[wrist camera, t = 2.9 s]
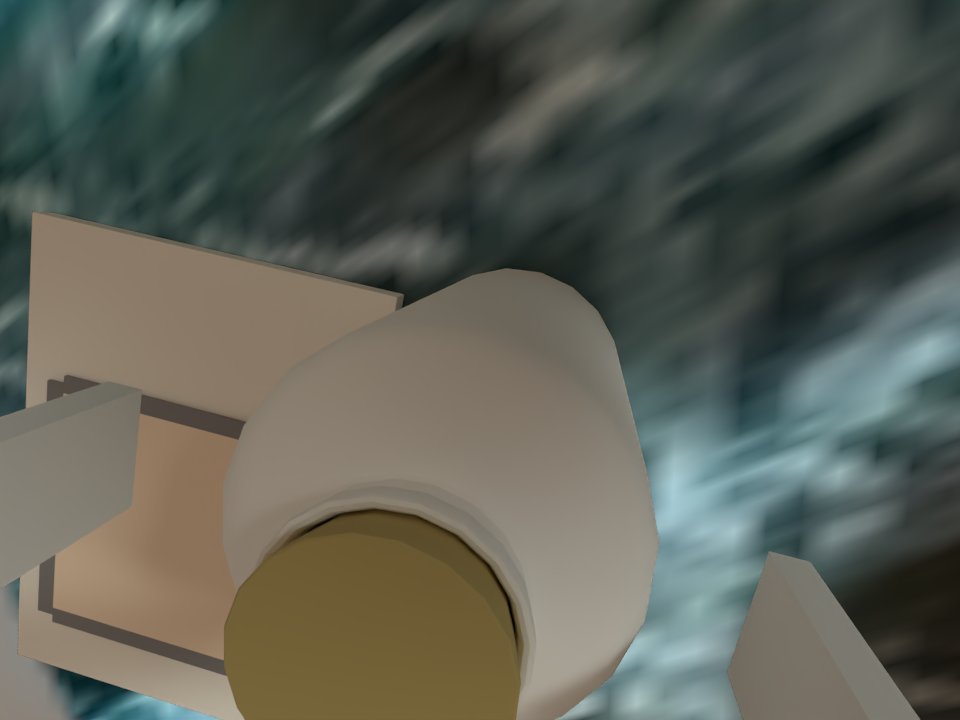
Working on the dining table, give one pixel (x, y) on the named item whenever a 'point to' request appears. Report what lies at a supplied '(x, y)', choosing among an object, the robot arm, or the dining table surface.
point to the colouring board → (162, 439)
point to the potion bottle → (441, 516)
